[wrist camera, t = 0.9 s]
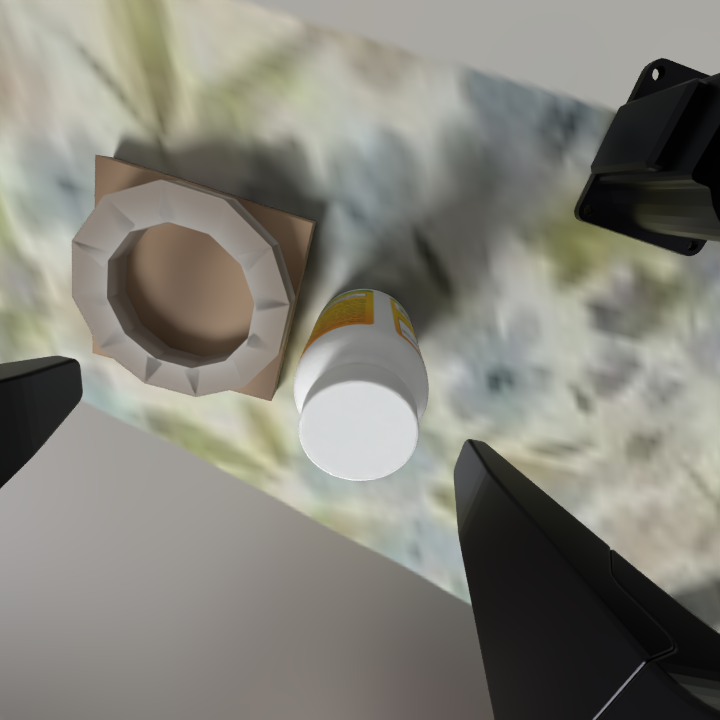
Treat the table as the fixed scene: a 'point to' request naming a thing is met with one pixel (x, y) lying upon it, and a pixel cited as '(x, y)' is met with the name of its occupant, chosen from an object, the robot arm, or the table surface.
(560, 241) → the table surface
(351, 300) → the supplement bottle
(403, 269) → the table surface
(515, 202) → the table surface
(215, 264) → the collar block
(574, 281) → the table surface
